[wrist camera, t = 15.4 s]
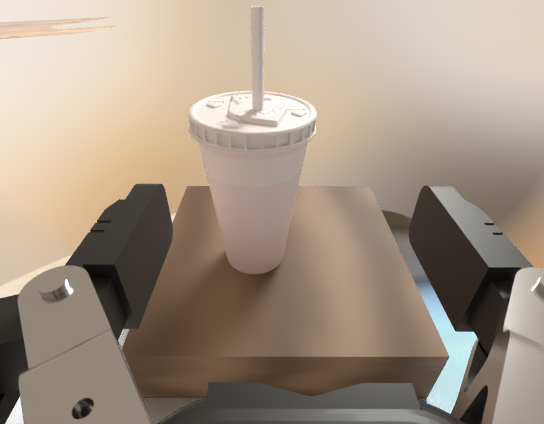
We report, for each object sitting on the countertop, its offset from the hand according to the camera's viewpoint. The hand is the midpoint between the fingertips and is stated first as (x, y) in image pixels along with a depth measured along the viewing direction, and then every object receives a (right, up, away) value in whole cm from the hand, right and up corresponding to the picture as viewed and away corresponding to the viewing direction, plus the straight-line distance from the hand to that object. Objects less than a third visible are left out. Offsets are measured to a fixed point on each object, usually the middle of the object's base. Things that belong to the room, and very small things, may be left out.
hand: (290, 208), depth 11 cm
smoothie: (-2, -3, +12) cm, 12 cm away
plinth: (0, -6, +14) cm, 15 cm away
